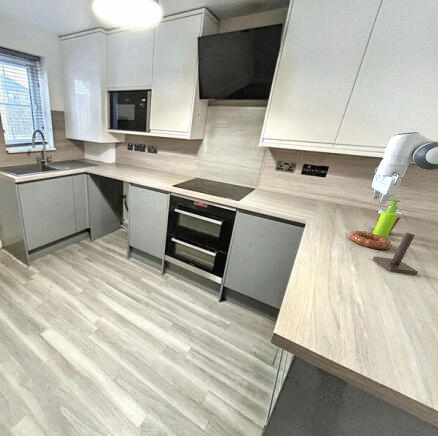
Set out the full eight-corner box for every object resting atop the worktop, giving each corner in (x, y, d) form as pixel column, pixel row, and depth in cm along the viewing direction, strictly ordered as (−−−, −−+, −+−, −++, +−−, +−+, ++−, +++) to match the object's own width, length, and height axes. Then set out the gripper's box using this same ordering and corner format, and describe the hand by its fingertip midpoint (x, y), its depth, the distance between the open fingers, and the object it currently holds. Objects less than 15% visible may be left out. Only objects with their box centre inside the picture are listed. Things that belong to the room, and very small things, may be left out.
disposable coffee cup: (397, 236, 124) (408, 215, 119) (375, 233, 127) (384, 212, 122) (387, 230, 132) (397, 210, 128) (367, 227, 135) (375, 207, 131)
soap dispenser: (367, 232, 127) (383, 197, 120) (384, 235, 124) (401, 199, 117) (371, 236, 122) (388, 199, 115) (388, 239, 119) (407, 202, 112)
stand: (397, 262, 97) (413, 230, 91) (416, 275, 88) (435, 240, 83) (372, 259, 98) (387, 227, 93) (389, 271, 90) (406, 237, 84)
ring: (374, 238, 120) (377, 232, 118) (398, 252, 106) (402, 245, 104) (341, 234, 122) (344, 228, 120) (360, 248, 108) (363, 241, 106)
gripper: (410, 175, 93) (395, 208, 98) (392, 169, 110) (380, 198, 115) (389, 173, 96) (376, 205, 101) (374, 168, 112) (363, 195, 117)
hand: (378, 201), depth 108 cm, fingers open, 8 cm apart
